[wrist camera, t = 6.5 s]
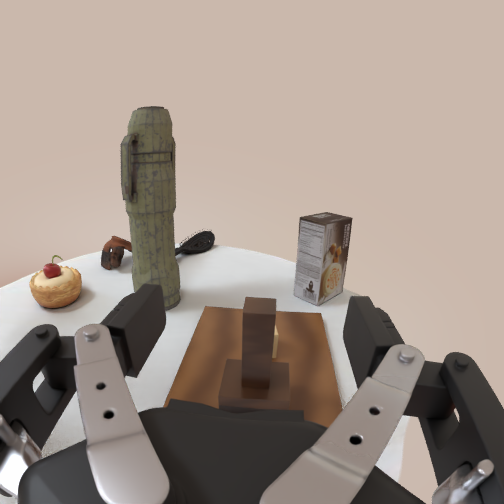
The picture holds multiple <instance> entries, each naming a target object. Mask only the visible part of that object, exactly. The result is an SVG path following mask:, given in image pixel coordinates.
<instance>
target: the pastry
mask: <svg viewBox="0 0 504 504" xmlns="http://www.w3.org/2000/svg"><path fill="white" fill-rule="evenodd" d="M54 257H59V256H57V255H55V256H53V258H54ZM53 258H52V263H53ZM59 258H60V257H59ZM60 259H61V258H60ZM52 263H50V264H46V265H45V266H44V268H43V270H41V271H40V272H39V273H36V274H35V275H34V276H32V278H31V281H30V289H31V292H32V295H33V297H34V298H35V300H36V301H37V302H38V303H39V304H40V305H41V306H43V307H47V308H58V307H63V306H66V305H68V304H70V303H72V302H74V301H75V300H76V299H77V298H78V296H79V294H80V291H81V286H82V281H81V274H80V273H79V272H78V271H77V270H76V269H75V270H74V269H73V268H72V267H71V268H68V267H67V266H65V267H62V266H59V265H57V264H52Z"/></svg>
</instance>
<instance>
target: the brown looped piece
mask: <svg viewBox="0 0 504 504" xmlns="http://www.w3.org/2000/svg"><path fill="white" fill-rule="evenodd" d="M111 249H112V252H110V250H111ZM124 249H127V250H128V251H130V252H132V245H131V242H129V241H126V240H124V239H121V238H119V237H116V236H112V239H111V240H110V241H108V242H107V243H106V244H105V246H104V248H103V250H102V257H101V265H102V266H103V267H104V268H106V269H108V270H110V265H112V266H113V267H119V266H120V264H121V261H122V258H123V255H124Z"/></svg>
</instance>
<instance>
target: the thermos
mask: <svg viewBox="0 0 504 504" xmlns="http://www.w3.org/2000/svg"><path fill="white" fill-rule="evenodd" d="M121 186H122V195H123V200H125V201H126V212H127V214H128V216H129V222H130V234H131V245H132V255H133V267H132V279H133V286H134V292H135V293H136V291H137V290H138V289H139V288H140V287H141V286H142V285H143V284H144V283H146V284H157V285H161V286H162V289H163V296H164V305H165V310H169V309H171V308H173V307H175V306H177V305H178V304H179V302H180V300H181V299H180V292H179V290H180V275H179V266H178V263H177V261H176V259H175V242H174V220H173V213H174V211H175V208H176V192H175V141H174V138H173V137H172V121H171V118H170V115H169V112H168V110H167V109H164V107H156V106H151V107H141V108H138V109H137V110H135V111H133V113H132V116H131V119H130V121H129V125H128V135H127V136H125V137H124V139H123V141H122V143H121Z"/></svg>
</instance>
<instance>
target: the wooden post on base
mask: <svg viewBox="0 0 504 504" xmlns="http://www.w3.org/2000/svg"><path fill="white" fill-rule="evenodd" d="M275 322H276V299H271V298H254V297H246V298H245V303H244V308H243V313H242V360H239V359H226V364H225V368H224V372H223V377H222V381H221V385H220V390H219V394H218V403H219V409H221V410H224V411H227V412H231V413H245V412H254V411H262V410H269V409H274V410H289V405H290V376H289V363H288V362H272V355H273V344H274V333H275Z"/></svg>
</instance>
